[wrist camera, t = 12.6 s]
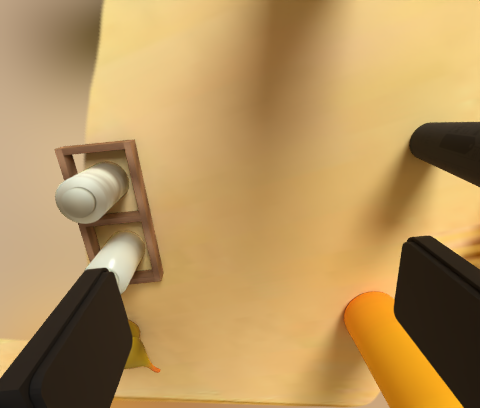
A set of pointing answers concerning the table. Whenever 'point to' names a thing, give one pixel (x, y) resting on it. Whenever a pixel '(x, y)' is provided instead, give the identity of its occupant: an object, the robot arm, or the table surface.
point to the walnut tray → (105, 199)
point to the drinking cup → (450, 148)
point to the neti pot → (138, 351)
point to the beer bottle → (394, 355)
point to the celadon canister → (120, 257)
